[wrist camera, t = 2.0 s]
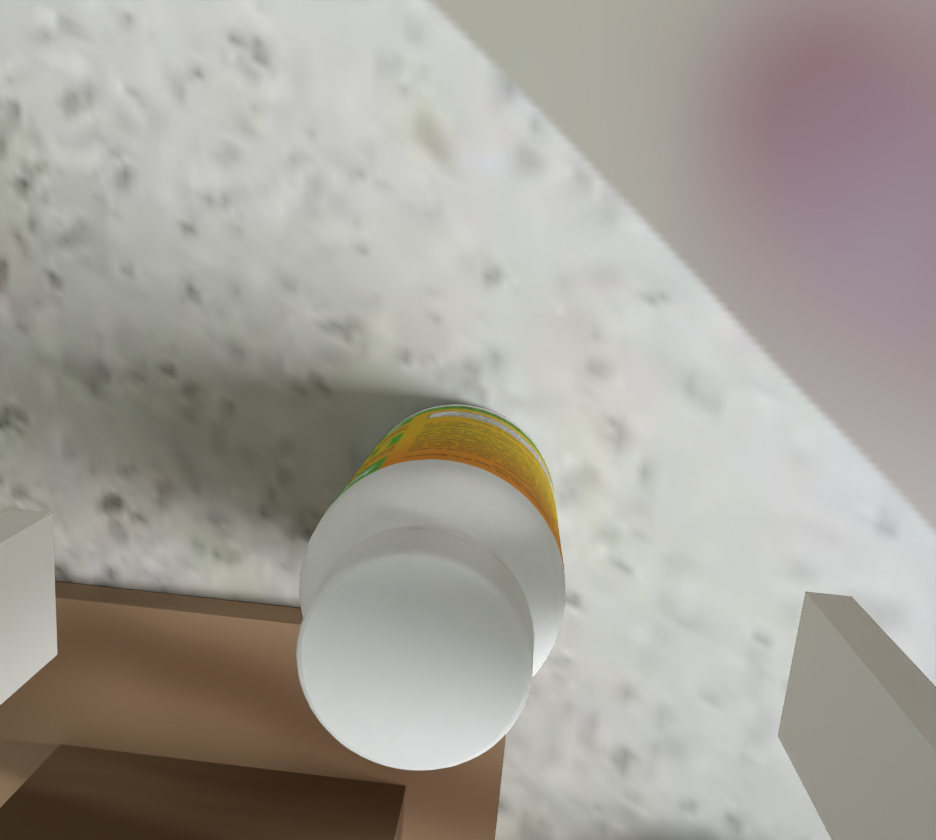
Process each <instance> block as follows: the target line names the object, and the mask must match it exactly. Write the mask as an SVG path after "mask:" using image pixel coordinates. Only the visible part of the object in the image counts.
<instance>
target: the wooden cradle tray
mask: <svg viewBox="0 0 936 840" xmlns="http://www.w3.org/2000/svg"><path fill="white" fill-rule="evenodd" d="M55 598H56V627H57V655H56V656H55V657H54V658H53V659H52V660H51V661H49V662H48V663H47V664H46V665H45V666H44V667H43V668H42V669H40V670H39V671H38V672H37V673H36V674H35V675H34V676H33V677H31V678H30V679H29V680H28V681H27V682H26V683H25V684H24V685H22V686H21V687H20V688H19V689H18V690H17V691H16V692H14V693H13V694H12V695H11V696H10V697H9V698H8V699H7V700H5V701H4V702H3V703H2V704H1V705H0V840H495V831H496V822H497V813H498V803H499V794H500V784H501V775H502V765H503V756H504V746H505V737H506V734H505V736H504V737H503V738H502V739H500V740H499V741H498V742H497V743H496V744H495V745H494V746H493V747H491V748H490V749H489V750H487V751H486V752H484V753H482V754H481V755H479V756H477V757H475V758H473V759H471V760H469V761H466V762H464V763H461V764H459V765H456V766H452V767H447V768H441V769H435V770H404V769H397V768H392V767H388V766H384V765H381V764H378V763H375V762H373V761H371V760H368V759H366V758H364V757H362V756H360V755H358V754H357V753H355V752H353V751H351V750H349V749H348V748H347V747H345V746H344V745H343V744H341V743H340V742H339V741H338V740H337V739H336V738H334V737H333V736H332V735H331V734H330V733H329V732H328V731H327V729H326V728H325V727H324V726H323V725H322V724H321V723H320V721H319V720H318V719H317V717H316V716H315V714H314V713H313V711H312V710H311V708H310V706H309V704H308V702H307V700H306V698H305V696H304V693H303V690H302V687H301V684H300V680H299V676H298V669H297V658H296V650H297V640H298V636H299V631H300V626H301V623H302V620H303V616H302V610H301V608H292V607H283V606H274V605H265V604H256V603H247V602H238V601H229V600H220V599H210V598H201V597H192V596H183V595H174V594H165V593H156V592H147V591H138V590H129V589H120V588H110V587H101V586H92V585H83V584H74V583H65V582H56V581H55Z"/></svg>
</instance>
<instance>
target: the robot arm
mask: <svg viewBox="0 0 936 840" xmlns="http://www.w3.org/2000/svg"><path fill="white" fill-rule="evenodd" d="M56 655H57V627H56V598H55V569H54V539H53V513H47V512H37V511H28V510H18V509H9V510H7V511H5V512H3V513H1V514H0V705H1V704H2V703H3V702H4V701H5V700H7V699H8V698H9V697H10V696H11V695H12V694H13V693H14V692H16V691H17V690H18V689H19V688H20V687H21V686H22V685H24V684H25V683H26V682H27V681H28V680H29V679H30V678H31V677H33V676H34V675H35V674H36V673H37V672H38V671H39V670H40V669H42V668H43V667H44V666H45V665H46V664H47V663H48V662H49V661H51V660H52V659H53V658H54V657H55V656H56ZM778 737H779V739H780V741H781V743H782V745H783V747H784V749H785V750H786V752H787V754H788V756H789V758H790V760H791V762H792V764H793V766H794V768H795V770H796V772H797V774H798V775H799V777H800V779H801V781H802V783H803V785H804V787H805V789H806V791H807V793H808V795H809V797H810V799H811V801H812V802H813V804H814V806H815V808H816V810H817V812H818V814H819V816H820V818H821V820H822V822H823V824H824V826H825V827H826V829H827V831H828V833H829V835H830V837H831V839H832V840H936V687H935V685H934V684H933V683H932V682H931V681H930V680H929V679H928V678H927V677H926V676H925V675H924V674H923V673H922V672H921V670H920V669H919V668H918V667H917V666H916V665H915V664H914V663H913V662H912V661H911V660H910V659H909V658H908V657H907V655H906V654H905V653H904V652H903V651H902V650H901V649H900V648H899V647H898V646H897V645H896V644H895V643H894V641H893V640H892V639H891V638H890V637H889V636H888V635H887V634H886V633H885V632H884V631H883V630H882V629H881V628H880V626H879V625H878V624H877V623H876V622H875V621H874V620H873V619H872V618H871V617H870V616H869V615H868V614H867V613H866V611H865V610H864V609H863V608H862V607H861V606H860V605H859V604H858V603H857V602H856V601H855V600H854V599H853V598H852V596H842V595H833V594H823V593H813V592H805V597H804V602H803V607H802V612H801V618H800V623H799V628H798V633H797V638H796V644H795V649H794V654H793V659H792V664H791V670H790V675H789V680H788V685H787V690H786V696H785V701H784V706H783V711H782V716H781V722H780V727H779V732H778Z"/></svg>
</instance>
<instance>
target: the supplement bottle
mask: <svg viewBox="0 0 936 840" xmlns="http://www.w3.org/2000/svg"><path fill="white" fill-rule="evenodd" d="M299 592H300V604H301V610H302V616H303V620H302V623H301V626H300V631H299V636H298V640H297V650H296V658H297V669H298V676H299V680H300V684H301V687H302V690H303V693H304V696H305V698H306V700H307V702H308V704H309V706H310V708H311V710H312V711H313V713H314V714H315V716H316V717H317V719H318V720H319V721H320V723H321V724H322V725H323V726H324V727H325V728H326V729H327V731H328V732H329V733H330V734H331V735H332V736H333V737H334V738H336V739H337V740H338V741H339V742H340V743H341V744H343V745H344V746H345V747H347V748H348V749H349V750H351V751H353V752H355V753H357V754H358V755H360V756H362V757H364V758H366V759H368V760H371V761H373V762H375V763H378V764H381V765H384V766H388V767H392V768H397V769H404V770H435V769H441V768H447V767H452V766H456V765H459V764H461V763H464V762H466V761H469V760H471V759H473V758H475V757H477V756H479V755H481V754H482V753H484V752H486V751H487V750H489V749H490V748H491V747H493V746H494V745H495V744H496V743H497V742H498V741H499V740H500V739H502V738H503V737H504V736H505V734H506V733H507V732H508V731H509V730H510V728H511V727H512V726H513V724H514V723H515V722H516V720H517V719H518V717H519V715H520V713H521V712H522V710H523V707H524V705H525V703H526V700H527V697H528V694H529V691H530V686H531V682H532V677H533V676H534V675H535V674H536V673H537V671H538V670H539V669H540V667H541V666H542V665H543V663H544V662H545V660H546V659H547V657H548V655H549V654H550V652H551V650H552V648H553V646H554V644H555V641H556V639H557V636H558V633H559V631H560V627H561V623H562V619H563V613H564V604H565V574H564V565H563V557H562V551H561V544H560V536H559V528H558V520H557V512H556V503H555V495H554V488H553V483H552V479H551V475H550V472H549V469H548V466H547V463H546V461H545V459H544V457H543V455H542V453H541V451H540V450H539V448H538V447H537V445H536V444H535V443H534V441H533V440H532V439H531V438H530V437H529V436H528V435H527V434H526V433H525V432H524V431H523V430H522V429H521V428H520V427H519V426H517V425H516V424H515V423H513V422H512V421H510V420H509V419H507V418H506V417H504V416H502V415H500V414H498V413H495V412H493V411H491V410H488V409H485V408H481V407H477V406H471V405H462V404H452V405H441V406H436V407H431V408H428V409H424V410H422V411H419V412H417V413H415V414H412V415H411V416H409V417H407V418H406V419H404V420H402V421H401V422H400V423H398V424H397V425H396V426H394V427H393V428H392V429H391V430H390V431H389V432H388V433H387V434H386V435H385V436H384V437H383V438H382V439H381V441H380V442H379V443H378V444H377V446H376V447H375V448H374V450H373V451H372V452H371V454H370V455H369V457H368V458H367V459H366V460H365V462H364V463H363V464H362V466H361V467H360V468H359V470H358V471H357V472H356V474H355V475H354V476H353V478H352V479H351V480H350V481H349V483H348V484H347V485H346V487H345V488H344V489H343V491H342V492H341V493H340V494H339V496H338V497H337V498H336V499H335V501H334V502H333V503H332V504H331V506H330V507H329V508H328V510H327V511H326V513H325V514H324V516H323V517H322V519H321V520H320V522H319V524H318V525H317V527H316V529H315V531H314V532H313V534H312V536H311V539H310V541H309V543H308V546H307V549H306V552H305V555H304V558H303V562H302V567H301V573H300V588H299Z"/></svg>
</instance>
